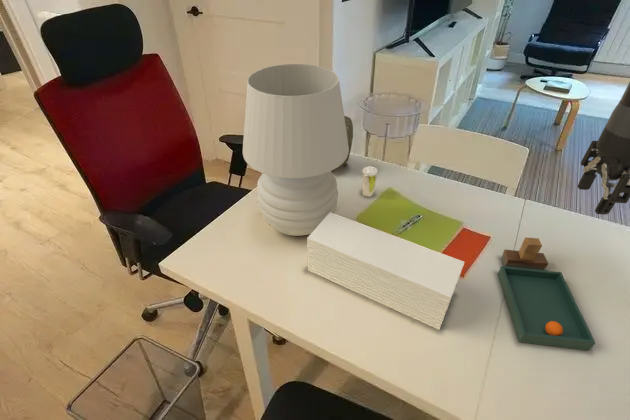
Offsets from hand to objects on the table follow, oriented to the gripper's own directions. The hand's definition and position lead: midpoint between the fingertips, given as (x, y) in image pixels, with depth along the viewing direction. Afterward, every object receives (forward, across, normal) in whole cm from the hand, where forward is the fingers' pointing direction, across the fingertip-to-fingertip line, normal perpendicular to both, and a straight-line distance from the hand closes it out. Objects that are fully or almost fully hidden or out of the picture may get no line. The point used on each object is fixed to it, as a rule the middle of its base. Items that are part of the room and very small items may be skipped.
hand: (591, 200), depth 77 cm
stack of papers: (+20, -10, +42) cm, 48 cm away
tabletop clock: (+20, +36, +59) cm, 72 cm away
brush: (+21, 0, +7) cm, 22 cm away
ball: (+18, -19, +7) cm, 28 cm away
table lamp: (+20, +8, +64) cm, 68 cm away
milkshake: (+20, +24, +45) cm, 55 cm away
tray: (+21, -13, +7) cm, 25 cm away
